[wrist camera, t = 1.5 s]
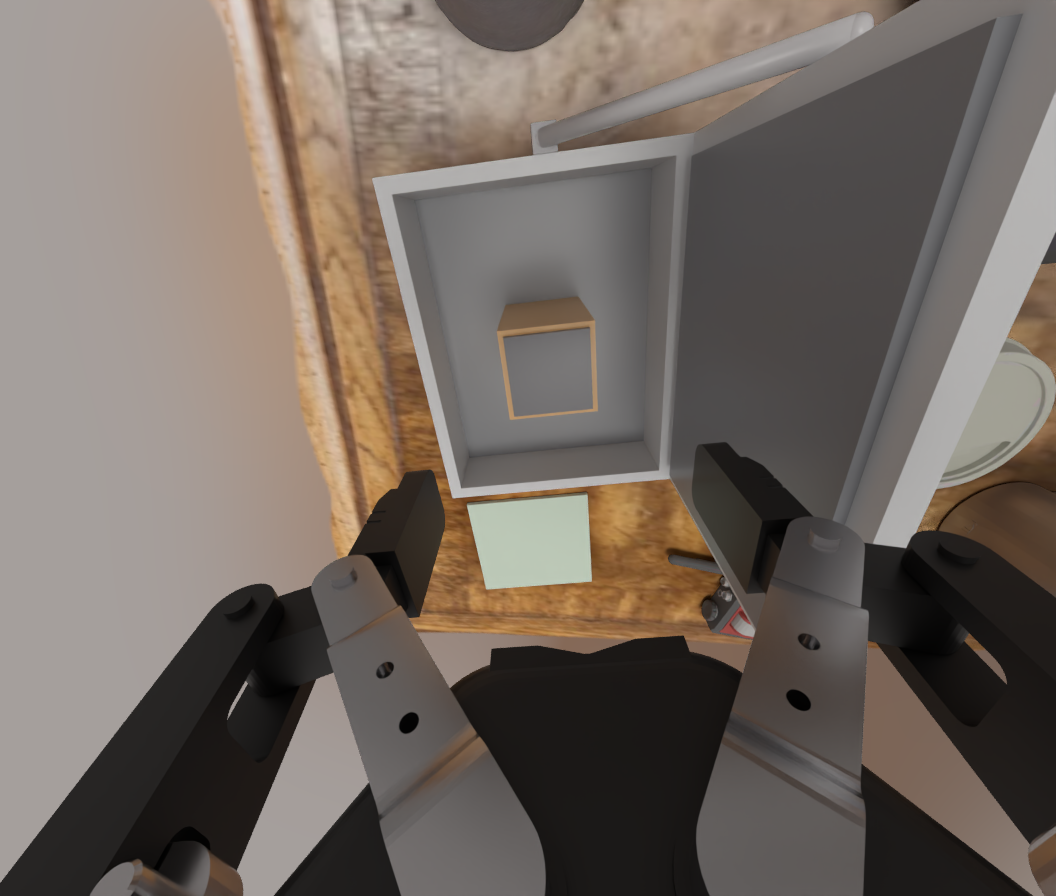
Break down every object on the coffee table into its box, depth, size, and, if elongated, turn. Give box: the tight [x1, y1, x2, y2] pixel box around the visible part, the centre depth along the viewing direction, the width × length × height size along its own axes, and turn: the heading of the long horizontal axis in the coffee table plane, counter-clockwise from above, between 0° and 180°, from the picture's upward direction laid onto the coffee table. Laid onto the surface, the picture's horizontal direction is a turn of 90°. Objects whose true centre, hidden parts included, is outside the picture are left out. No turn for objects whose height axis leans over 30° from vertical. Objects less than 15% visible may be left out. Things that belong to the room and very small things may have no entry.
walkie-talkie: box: [668, 555, 755, 640], centre depth 40 cm, size 9×4×20 cm
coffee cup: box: [936, 337, 1056, 489], centre depth 25 cm, size 8×8×12 cm
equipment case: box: [372, 0, 1056, 631], centre depth 19 cm, size 18×21×22 cm
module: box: [497, 297, 598, 420], centre depth 25 cm, size 5×5×8 cm
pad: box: [467, 492, 592, 589], centre depth 39 cm, size 11×11×1 cm
